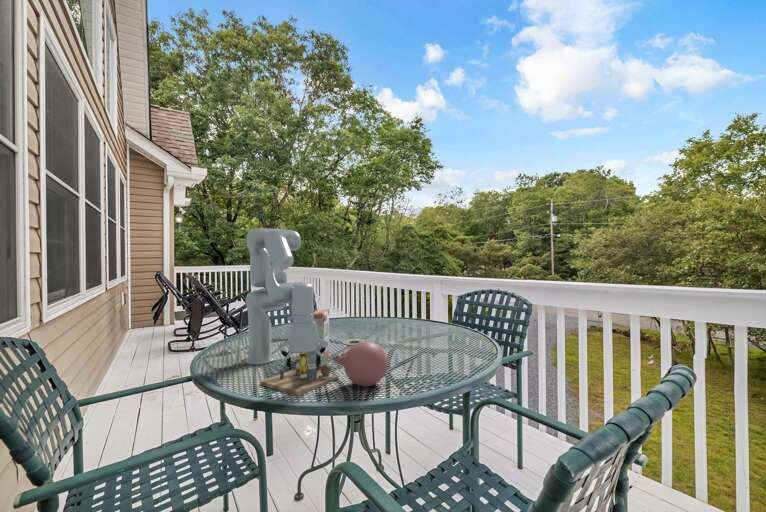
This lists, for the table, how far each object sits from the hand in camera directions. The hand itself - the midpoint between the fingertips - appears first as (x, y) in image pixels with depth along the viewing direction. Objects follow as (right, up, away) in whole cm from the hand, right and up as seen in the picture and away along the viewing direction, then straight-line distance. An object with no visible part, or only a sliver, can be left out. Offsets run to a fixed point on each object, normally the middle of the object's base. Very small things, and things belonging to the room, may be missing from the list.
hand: (303, 367), depth 131 cm
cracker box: (-1, -7, +42) cm, 42 cm away
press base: (-3, -7, +7) cm, 10 cm away
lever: (-2, -4, +6) cm, 7 cm away
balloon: (+20, -7, +2) cm, 21 cm away
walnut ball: (+7, -5, +8) cm, 11 cm away
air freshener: (-1, -7, +25) cm, 26 cm away
